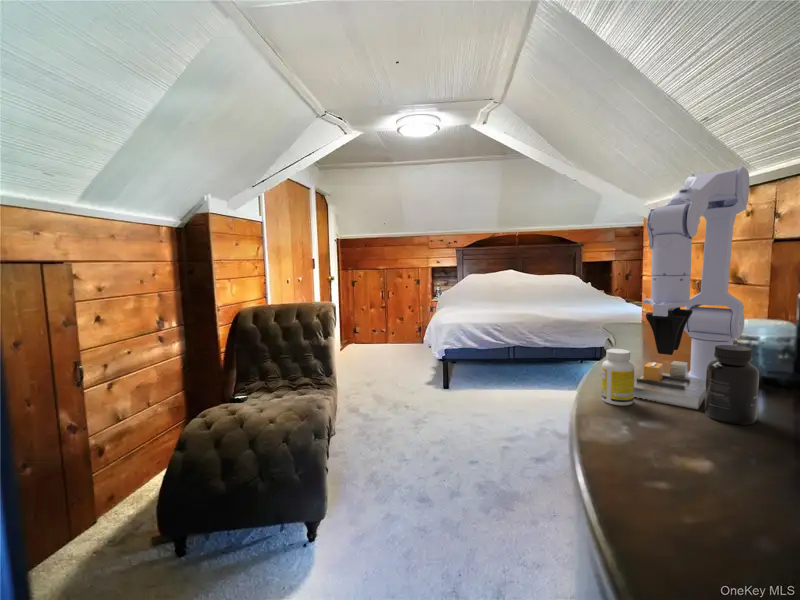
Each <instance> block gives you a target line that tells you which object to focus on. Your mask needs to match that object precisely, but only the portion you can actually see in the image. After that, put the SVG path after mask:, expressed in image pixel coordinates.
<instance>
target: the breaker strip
mask: <svg viewBox="0 0 800 600" xmlns="http://www.w3.org/2000/svg"><path fill="white" fill-rule="evenodd" d="M688 365H689V362H688V361H687V362H686V361H685V362H684V361H677V360H673V361H672V362H671V363H670V366H669V367H670V368H669V371H670V372H669V373H667V372H663V378H662V379H661V380H660V381H659V382H658V381H652V380H646V379H644V373H643V374H642V375H641V376H640V377H637V378H636V380H634V397H637V398H636V399H639V398H642V399H641V400H645V399H648V400H647V401H650V400H651V401H650V402H655V401H656V402H655V403H662V404H666V405H667V404H668V405H673V406H678V407H681V408H682V407H683V408H687V409H694V410H699V408H700V406H701V405H702V404H703V401H705V390H706V379H702V378H695V377H688V376H687V374H688V372H689V371H688V369H689V367H688Z"/></svg>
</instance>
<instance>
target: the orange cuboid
mask: <svg viewBox="0 0 800 600" xmlns="http://www.w3.org/2000/svg"><path fill="white" fill-rule="evenodd" d="M663 370H664V364H663V363H659V362H651V361H648V362H647V363H646V364H645V365H643V374H644V379H646V380H652V381H658V382H659V381H660V380H661V379H662V378H663V373H664V371H663Z"/></svg>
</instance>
